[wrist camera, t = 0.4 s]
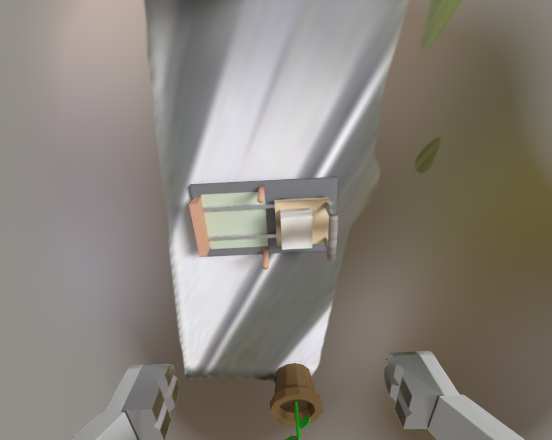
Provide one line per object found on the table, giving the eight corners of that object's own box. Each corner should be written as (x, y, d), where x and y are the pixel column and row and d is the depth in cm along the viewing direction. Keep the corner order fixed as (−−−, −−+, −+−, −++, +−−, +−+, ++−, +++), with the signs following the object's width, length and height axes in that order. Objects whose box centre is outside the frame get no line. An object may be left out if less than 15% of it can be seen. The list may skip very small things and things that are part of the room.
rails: (198, 206, 55) (197, 208, 54) (331, 199, 55) (332, 201, 54) (204, 239, 59) (203, 241, 58) (330, 232, 59) (331, 234, 58)
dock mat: (190, 184, 54) (189, 185, 53) (336, 176, 54) (337, 178, 53) (204, 254, 61) (203, 256, 61) (332, 247, 61) (333, 250, 61)
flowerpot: (288, 352, 76) (298, 493, 49) (326, 370, 80) (355, 510, 53) (260, 379, 81) (256, 521, 54) (297, 394, 85) (311, 535, 58)
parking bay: (192, 188, 54) (182, 200, 47) (264, 184, 54) (263, 196, 47) (205, 254, 60) (197, 273, 54) (268, 251, 60) (268, 269, 54)
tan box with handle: (274, 198, 54) (275, 218, 46) (328, 195, 54) (339, 215, 46) (276, 240, 59) (277, 266, 50) (326, 237, 59) (336, 263, 50)
